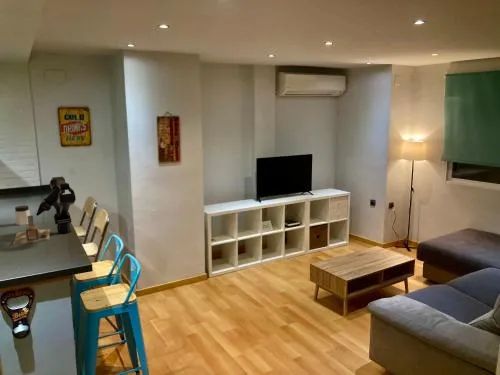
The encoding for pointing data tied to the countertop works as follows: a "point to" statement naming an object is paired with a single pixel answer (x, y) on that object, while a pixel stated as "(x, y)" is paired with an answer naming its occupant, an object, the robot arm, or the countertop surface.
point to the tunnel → (31, 228)
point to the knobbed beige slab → (30, 223)
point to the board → (22, 239)
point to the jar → (22, 215)
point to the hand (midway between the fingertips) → (37, 213)
